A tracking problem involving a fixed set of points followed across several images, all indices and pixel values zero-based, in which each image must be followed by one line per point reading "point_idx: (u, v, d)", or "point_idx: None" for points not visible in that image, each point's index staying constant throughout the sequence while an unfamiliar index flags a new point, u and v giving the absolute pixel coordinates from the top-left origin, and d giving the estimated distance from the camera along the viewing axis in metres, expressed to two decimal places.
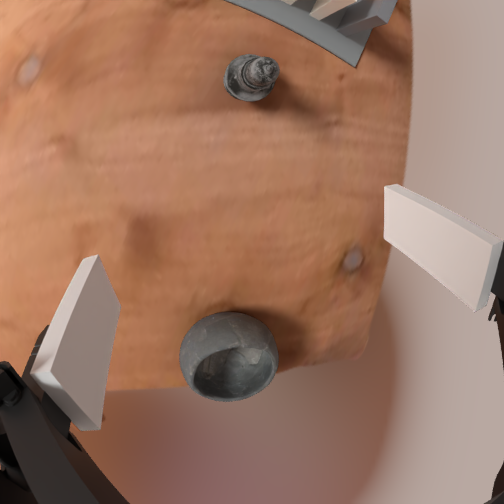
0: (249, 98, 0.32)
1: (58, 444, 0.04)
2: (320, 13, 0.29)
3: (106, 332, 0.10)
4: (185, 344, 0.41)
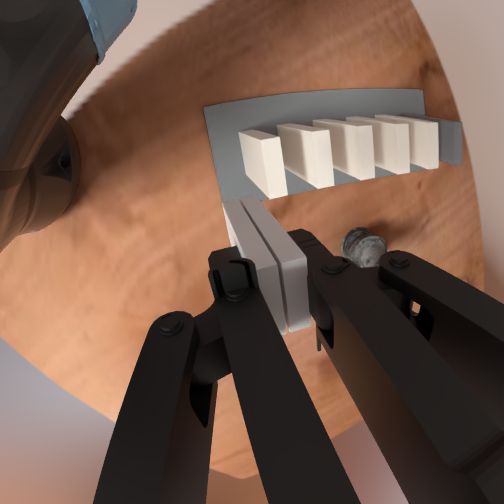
0: None
1: (287, 348, 0.06)
2: None
3: None
4: None
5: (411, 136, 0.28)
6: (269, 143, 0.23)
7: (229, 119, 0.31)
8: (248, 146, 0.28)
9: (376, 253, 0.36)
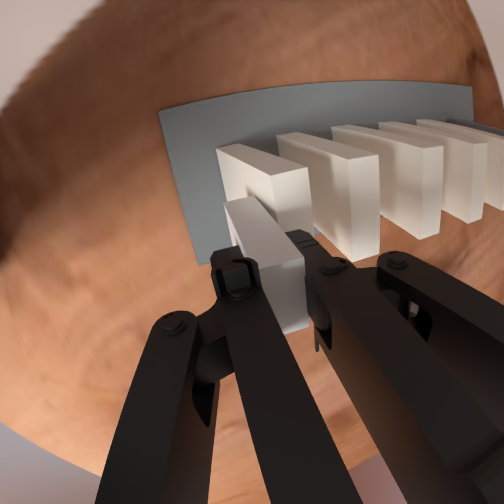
0: None
1: (289, 348, 0.06)
2: None
3: None
4: None
5: None
6: (288, 181, 0.12)
7: (200, 128, 0.19)
8: (236, 176, 0.17)
9: None
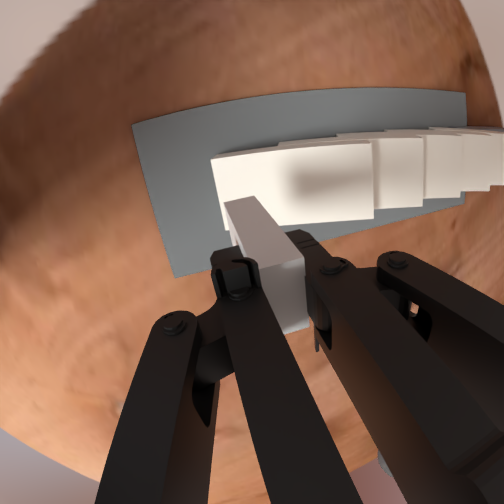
0: None
1: (289, 348, 0.06)
2: None
3: None
4: (384, 462, 0.42)
5: (498, 153, 0.20)
6: None
7: (173, 141, 0.19)
8: (283, 168, 0.18)
9: None
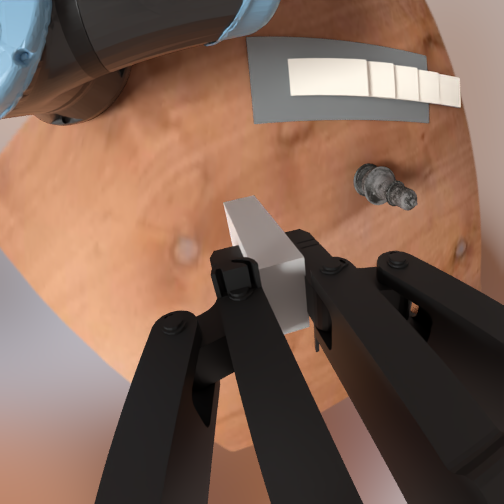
0: (385, 201, 0.42)
1: (289, 348, 0.06)
2: None
3: None
4: None
5: (445, 86, 0.35)
6: None
7: (267, 49, 0.33)
8: (324, 66, 0.32)
9: (388, 180, 0.39)
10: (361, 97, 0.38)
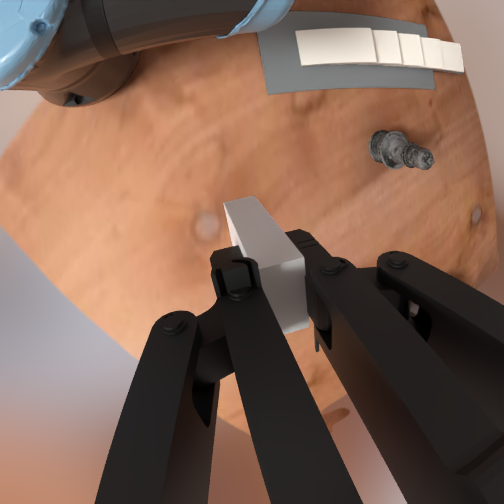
0: (401, 165, 0.41)
1: (289, 348, 0.06)
2: None
3: None
4: None
5: (447, 52, 0.32)
6: None
7: None
8: (331, 36, 0.31)
9: (403, 143, 0.37)
10: (368, 66, 0.36)
